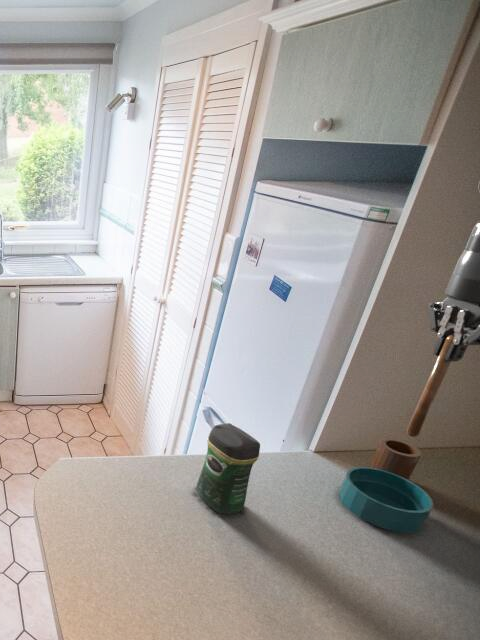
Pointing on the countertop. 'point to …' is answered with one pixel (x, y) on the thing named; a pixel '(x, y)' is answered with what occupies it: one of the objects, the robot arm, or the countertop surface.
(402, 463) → the utensil pot
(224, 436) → the coffee jar
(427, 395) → the stick
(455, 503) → the countertop surface
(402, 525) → the bowl
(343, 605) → the countertop surface
